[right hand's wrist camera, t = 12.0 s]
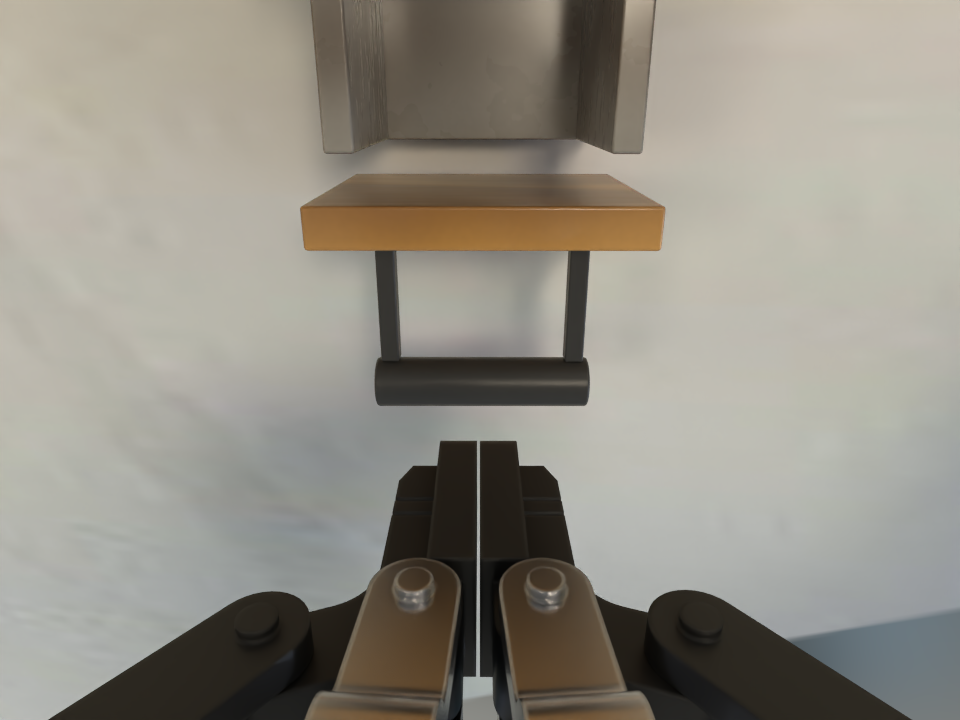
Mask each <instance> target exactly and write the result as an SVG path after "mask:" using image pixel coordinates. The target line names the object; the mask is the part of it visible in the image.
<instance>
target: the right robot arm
mask: <svg viewBox="0 0 960 720" xmlns="http://www.w3.org/2000/svg"><path fill="white" fill-rule="evenodd" d="M476 597H477V441H440V448H439V457H438V465H437V466H413V467H412V468H411V469H410V470H409V471H408V472H407V473H406V474H405V475H404V476H403V477H402V478H401V479H400V480H399V485H398V489H397V494H396V501H395V503H394V508H393V515H392V517H391V522H390V527H389V531H388V536H387V541H386V546H385V550H384V555H383V560H382V564H381V569H380V571H378V572H377V573H376V574H375V575H374V577H373V578H372V579H371V581H370V583H369V585H368V588H367V590H366V591H364V592H363V593H362V594H360V595H359V596H357V597H355V598H353V599H352V600H349V601H347V602H345V603H342V604H339V605H336V606H332V607H328V608H324V609H320V610H316V611H312V612H309V610H308V608H307V606H306V605H305V603H304V602H303V601H302V600H301V599H299V598H298V597H296V596H294V595H291V594H288V593H284V592H273V591H271V592H261V593H256V594H252V595H249V596H246V597H244V598H241V599H239V600H237V601H235V602H233V603H231V604H230V605H228V606H226V607H225V608H223V609H222V610H220V611H219V612H217V613H215V614H214V615H212V616H211V617H209V618H208V619H206V620H204V621H203V622H201V623H200V624H198V625H197V626H195V627H193V628H192V629H190V630H189V631H187V632H185V633H184V634H182V635H181V636H179V637H178V638H176V639H174V640H173V641H171V642H170V643H168V644H167V645H165V646H163V647H162V648H160V649H159V650H157V651H156V652H154V653H152V654H151V655H149V656H148V657H146V658H145V659H143V660H141V661H140V662H138V663H137V664H135V665H134V666H132V667H130V668H129V669H127V670H126V671H124V672H123V673H121V674H119V675H118V676H116V677H115V678H113V679H112V680H110V681H108V682H107V683H105V684H104V685H102V686H101V687H99V688H97V689H96V690H94V691H93V692H91V693H89V694H88V695H86V696H85V697H83V698H82V699H80V700H78V701H77V702H75V703H74V704H72V705H71V706H69V707H67V708H66V709H64V710H63V711H61V712H60V713H58V714H56V715H55V716H53V717H52V718H50V719H49V720H463V677H476ZM480 677H493V701H494V706H495V709H496V711H497V720H911V719H910V718H908V717H907V716H905V715H904V714H902V713H900V712H899V711H897V710H896V709H894V708H892V707H891V706H889V705H888V704H886V703H885V702H883V701H881V700H880V699H878V698H877V697H875V696H874V695H872V694H870V693H869V692H867V691H866V690H864V689H863V688H861V687H859V686H858V685H856V684H855V683H853V682H852V681H850V680H848V679H847V678H845V677H844V676H842V675H841V674H839V673H837V672H836V671H834V670H833V669H831V668H830V667H828V666H826V665H825V664H823V663H822V662H820V661H819V660H817V659H815V658H814V657H812V656H811V655H809V654H808V653H806V652H804V651H803V650H801V649H800V648H798V647H797V646H795V645H793V644H792V643H790V642H789V641H787V640H786V639H784V638H782V637H781V636H779V635H778V634H776V633H774V632H773V631H771V630H770V629H768V628H767V627H765V626H763V625H762V624H760V623H759V622H757V621H756V620H754V619H752V618H751V617H749V616H748V615H746V614H745V613H743V612H741V611H740V610H738V609H737V608H735V607H734V606H732V605H730V604H729V603H727V602H725V601H724V600H722V599H720V598H718V597H715V596H713V595H710V594H707V593H704V592H699V591H692V590H677V591H671V592H668V593H665V594H663V595H661V596H659V597H658V598H657V599H656V600H654V601H653V603H652V604H651V606H650V608H649V611H648V613H647V612H643V611H639V610H635V609H631V608H627V607H623V606H619V605H616V604H613V603H610V602H608V601H606V600H604V599H602V598H600V597H598V596H597V595H595V594H594V591H593V588H592V585H591V583H590V581H589V579H588V578H587V577H586V575H585V574H584V573H583V572H582V571H580V570H579V569H578V568H576V567H575V565H574V560H573V555H572V550H571V545H570V540H569V535H568V530H567V526H566V521H565V516H564V511H563V506H562V501H561V496H560V491H559V486H558V482H557V480H556V479H555V478H554V477H553V476H552V475H551V473H550V472H549V471H548V470H547V469H546V468H545V467H544V466H519V460H518V451H517V442H516V441H480Z"/></svg>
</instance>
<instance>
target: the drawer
mask: <svg viewBox="0 0 960 720" xmlns="http://www.w3.org/2000/svg"><path fill="white" fill-rule="evenodd" d="M310 1H311V12H312V24H313V35H314V47H315V58H316V70H317V81H318V93H319V104H320V116H321V128H322V139H323V151H324V153H326V154H352V153H354V152H357V151H359V150H362V149H364V148H367V147H369V146H372V145H374V144H376V143H379V142H381V141H384V140H386V139H577V140H580V141H583V142H585V143H588V144H590V145H593V146H595V147H598V148H600V149H603V150H606V151H608V152H611V153H613V154H640V153H642V150H643V139H644V128H645V117H646V106H647V95H648V84H649V73H650V62H651V51H652V40H653V30H654V19H655V8H656V0H310ZM300 212H301V222H302V231H303V241H304V248H305V250H308V251H375V259H376V276H377V292H378V308H379V325H380V341H381V357H380V358H378V360H377V362H376V368H375V396H376V401H377V404H378V405H380V406H585V405H586V404H587V402H588V398H589V388H590V376H589V366H588V362H587V359H586V358H584V357H583V348H584V333H585V318H586V303H587V287H588V272H589V257H590V251H659V250H660V249H661V246H662V237H663V227H664V218H665V207H664V206H662V205H660V204H658V203H657V202H655V201H653V200H651V199H650V198H648V197H646V196H644V195H643V194H641V193H639V192H637V191H636V190H634V189H632V188H630V187H629V186H627V185H625V184H623V183H622V182H620V181H618V180H616V179H615V178H613V177H611V176H609V175H607V174H356V175H354V176H353V177H351V178H349V179H347V180H346V181H344V182H342V183H341V184H339V185H337V186H336V187H334V188H332V189H330V190H329V191H327V192H325V193H324V194H322V195H320V196H319V197H317V198H315V199H313V200H312V201H310V202H308V203H307V204H305V205H303V206H302V207H301V208H300ZM396 251H568V269H567V288H566V306H565V325H564V344H563V357H401V341H400V320H399V300H398V279H397V259H396Z"/></svg>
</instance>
